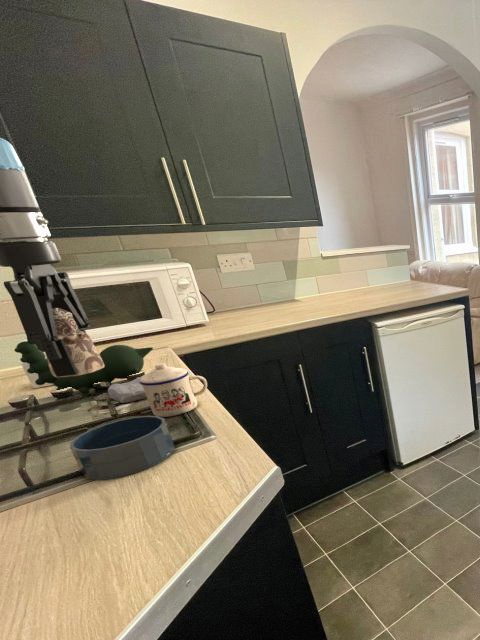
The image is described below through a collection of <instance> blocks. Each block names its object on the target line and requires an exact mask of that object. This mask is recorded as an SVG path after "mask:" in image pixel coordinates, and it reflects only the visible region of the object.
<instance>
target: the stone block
mask: <svg viewBox="0 0 480 640" xmlns="http://www.w3.org/2000/svg"><path fill="white" fill-rule="evenodd" d="M146 374H147V373H145V374H143V375H142V376H144V375H146ZM142 376H141V377H142ZM141 377H137V378H136V379H134V380H132V381H131V382H130V381H127V382H124V383H113V384H111V386H110V387H108V388H107V394H108V396H109V398H110V399H112V400H114V401H115V402H119V403H120V404H125V403H126V404H128V403H130V402H136V401H139V400H144V399H147V397H146V394H145V391H144V389H143V386H142V384H140V378H141Z"/></svg>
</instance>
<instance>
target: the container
mask: <svg viewBox="0 0 480 640" xmlns="http://www.w3.org/2000/svg"><path fill="white" fill-rule="evenodd" d="M24 341H27V338H26V339H23V340H21V341H19V343H20V342H24ZM19 343H18V344H19ZM35 344H36V345H37V348H38V350H40V351H42V352H43V353H44V354H45V351H44V349H43V347H42V344H41V343H40V342H38V343H35ZM45 356H46V354H45ZM45 358H46V357H45ZM46 359H47V358H46ZM20 365H21V366H22V368H23V371H24V372H25V374H26V376H27V378H28V381H29V383H30V385H31V387H32V388H33V389H39V388H45V387H49V386H50V387H51V386H55V385H54V384H52V383H46V382H45V384H44V385H37V384H36V383H35V381H36V380H37V379H38V378H39V377H38V374H37V373H33V374H30V373H28V372H27V370H28V369H29V368H30V367H29V365H30V364H29V363H24V362H22V361H21V363H20Z"/></svg>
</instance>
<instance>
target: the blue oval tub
mask: <svg viewBox="0 0 480 640" xmlns="http://www.w3.org/2000/svg"><path fill="white" fill-rule="evenodd" d="M175 448H176V447H175V444H174V441H173V437H172V436H171V432H170V430H169V428H168V425H167V423H166V420H165V417H159V416H155V415H143V416H133V417H128V418H123V419H119V420H116V421H115V420H114V421H112V422H109V423H105V424H101V425H100V426H96V427H94V428H92V429H89V430H87V431H85V432H83V433H82V434H80V435H78V436H76V437H75V438H74V439H73V440H72V441H70V444H69V449H70V451H71V453H72V455H73V457H74V459H75V462H76V463H77V466H78V467H79V469H80V472H81V473H82V475H83V476H84V477H85V478H87V479H89V480H95V481H105V480H113V479H119V478H123V477H126V476H130V475H133V474H136V473H140V472H142V471H144V470H147V469H150V468H151V467H154V466H156V465H158V464H160V463H162V462H163V461H165V460H166V459H168V458H169V457H170V456H171V455H172V454H173V453H174V451H175Z"/></svg>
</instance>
